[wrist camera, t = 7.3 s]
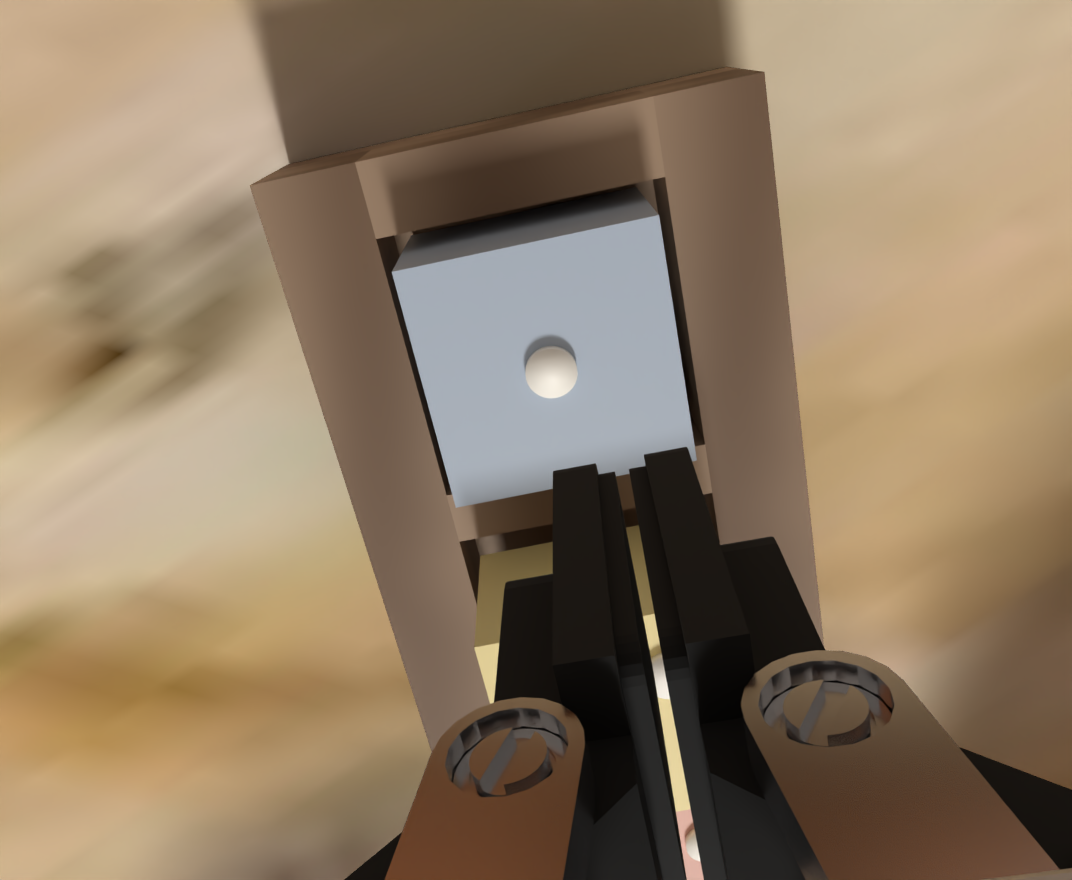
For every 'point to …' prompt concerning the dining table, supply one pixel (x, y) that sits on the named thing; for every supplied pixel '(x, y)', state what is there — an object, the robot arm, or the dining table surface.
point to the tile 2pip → (540, 562)
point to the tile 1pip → (546, 343)
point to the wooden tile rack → (510, 187)
